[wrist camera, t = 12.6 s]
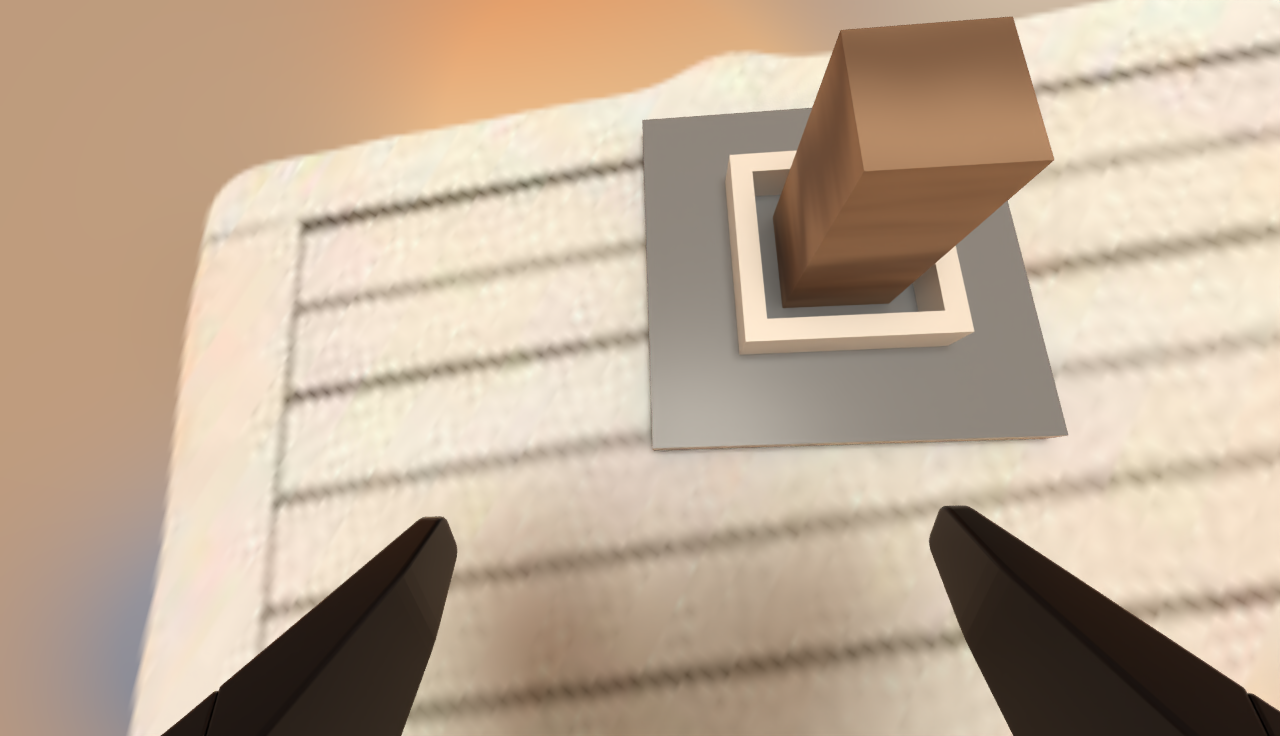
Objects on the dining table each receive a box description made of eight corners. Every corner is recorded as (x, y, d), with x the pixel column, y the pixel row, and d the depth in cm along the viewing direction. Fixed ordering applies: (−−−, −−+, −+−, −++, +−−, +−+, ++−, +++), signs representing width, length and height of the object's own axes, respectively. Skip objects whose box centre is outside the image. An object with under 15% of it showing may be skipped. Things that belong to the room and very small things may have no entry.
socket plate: (1046, 438, 21) (1110, 429, 18) (653, 450, 22) (650, 444, 19) (966, 113, 26) (1006, 62, 23) (643, 135, 27) (640, 90, 24)
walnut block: (888, 303, 22) (1054, 159, 13) (782, 308, 23) (864, 171, 13) (873, 211, 24) (1012, 16, 14) (772, 216, 24) (840, 30, 14)
